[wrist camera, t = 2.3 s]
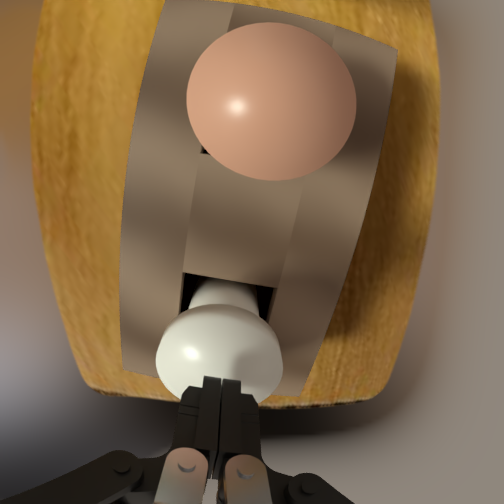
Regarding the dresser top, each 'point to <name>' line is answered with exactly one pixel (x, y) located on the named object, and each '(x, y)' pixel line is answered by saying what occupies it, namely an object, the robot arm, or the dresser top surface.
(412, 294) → the dresser top surface
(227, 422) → the robot arm
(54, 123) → the dresser top surface
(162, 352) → the cream knob
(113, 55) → the dresser top surface
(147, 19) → the dresser top surface
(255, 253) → the brown wooden block
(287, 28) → the terracotta knob
